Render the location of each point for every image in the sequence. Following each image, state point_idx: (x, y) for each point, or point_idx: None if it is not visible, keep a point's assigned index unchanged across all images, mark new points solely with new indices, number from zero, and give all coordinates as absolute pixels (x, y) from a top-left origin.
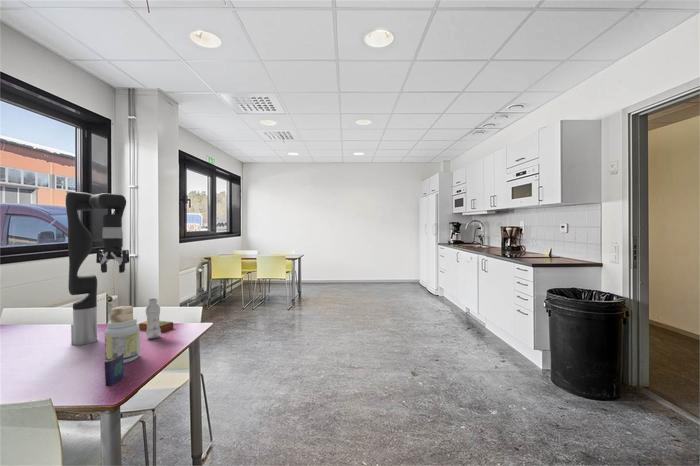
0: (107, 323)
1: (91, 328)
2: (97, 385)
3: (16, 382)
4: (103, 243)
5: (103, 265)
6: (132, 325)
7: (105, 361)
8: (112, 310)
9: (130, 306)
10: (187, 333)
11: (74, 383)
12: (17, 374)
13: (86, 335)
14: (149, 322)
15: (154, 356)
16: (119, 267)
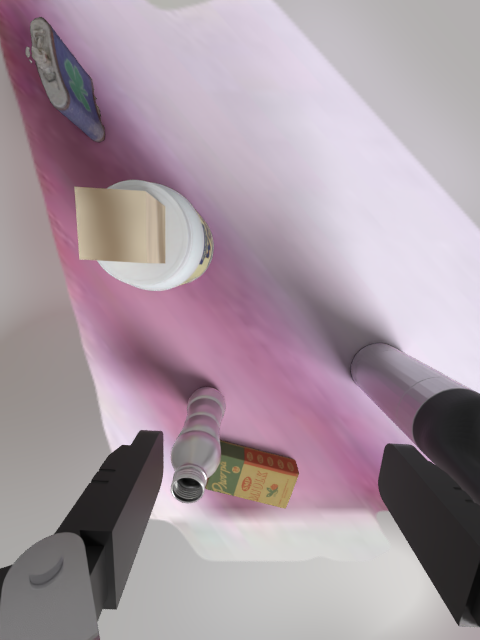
0: (174, 199)
1: (372, 376)
2: (113, 81)
3: (331, 96)
4: None
5: (462, 540)
6: None
7: (43, 20)
8: (137, 192)
9: (85, 250)
10: None
11: (180, 92)
12: (372, 145)
13: (371, 359)
14: (203, 412)
15: None
16: (127, 483)
